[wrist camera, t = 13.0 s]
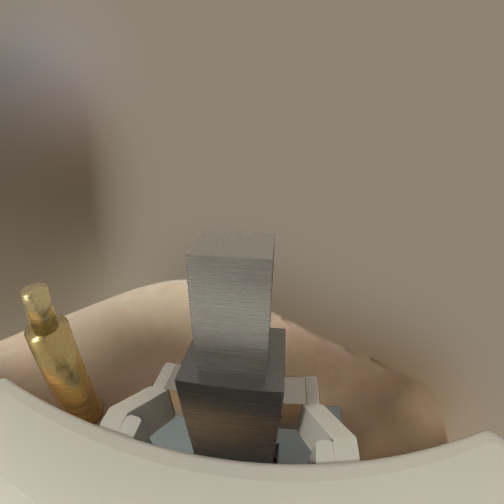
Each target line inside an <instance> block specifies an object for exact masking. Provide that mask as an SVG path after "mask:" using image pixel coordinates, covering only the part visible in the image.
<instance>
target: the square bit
mask: <svg viewBox="0 0 504 504" xmlns="http://www.w3.org/2000/svg"><path fill="white" fill-rule="evenodd" d="M274 247H275V234H262V233H241V232H218V231H217V232H216V231H207V232H206V233H205V234H204V235H203V236H202V237H201V238H200V239H199V240H198V241H197V242H196V243H195V244H194V246H193V247H192V248H191V249H190V250H189V251H188V252H187V253H186V254H185V257H186V271H187V284H188V295H189V305H190V315H191V324H192V333H193V340H192V343H191V345H190V347H189V349H188V351H187V353H186V356H185V358H184V360H183V362H182V364H181V367H180V369H179V371H178V373H177V375H176V378H175V384H176V389H177V393H178V397H179V401H180V405H181V409H182V413H183V416H184V420H185V424H186V427H187V431H188V434H189V438H190V441H191V444H192V447H193V451H194V454H197V455H202V456H208V457H214V458H221V459H228V460H236V461H245V462H256V463H271V464H272V462H273V457H274V451H275V446H276V440H277V434H278V429H279V423H280V416H281V410H282V404H283V397H284V383H285V329H278V328H270V320H271V304H272V285H273V267H274Z"/></svg>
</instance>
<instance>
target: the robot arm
mask: <svg viewBox="0 0 504 504" xmlns="http://www.w3.org/2000/svg"><path fill="white" fill-rule="evenodd" d="M180 367H181V365H180V364H174V363H169V362H167V363H165V364H164V366H163V368H162V370H161V372H160V374H159V375H158V377H157V379H156V381H155V383H154V385H153V386H149V387H147V388H145V389H143V390H141V391H140V392H138V393H136V394H134V395H132V396H130V397H128V398H126V399H125V400H123V401H121V402H119V403H117V404H115V405H113V406H111V407H110V408H109V409H108V411H107V413H106V414H105V416H104V418H103V419H102V421H101V423H100V424H99V426H97V425H94V424H92V423H89V422H87V421H85V420H82V419H80V418H78V417H76V416H73V415H71V414H69V413H67V412H65V411H63V410H61V409H59V408H57V407H55V406H53V405H51V404H49V403H47V402H45V401H43V400H41V399H40V398H38V397H36V396H34V395H33V394H31V393H29V392H27V391H26V390H24V389H22V388H21V387H19V386H18V385H16V384H14V383H13V382H11V381H10V380H8V379H5V378H2V379H0V504H504V438H502V437H501V436H499V435H497V434H496V433H494V432H492V431H490V430H485V431H481V432H479V433H476V434H473V435H470V436H468V437H465V438H462V439H459V440H456V441H453V442H449V443H446V444H443V445H439V446H436V447H432V448H428V449H424V450H420V451H416V452H411V453H406V454H401V455H396V456H391V457H385V458H378V459H371V460H363V461H360V457H359V451H358V444H357V438H356V437H355V436H354V435H353V434H352V433H351V432H350V431H349V430H348V429H347V428H346V427H345V426H344V425H343V424H342V423H341V422H340V421H339V420H338V419H337V418H336V417H335V416H334V415H333V414H332V413H331V412H330V411H329V410H328V409H327V408H326V407H325V406H324V405H320V398H319V388H318V379H317V377H316V376H305V377H304V376H285V383H284V397H283V404H282V410H281V416H280V423H279V429H297V432H298V433H299V435H300V436H301V438H302V439H303V440H304V442H305V443H306V445H307V446H308V447H309V449H310V450H311V452H312V453H311V455H310V458H309V460H308V463H307V464H271V463H256V462H245V461H236V460H228V459H221V458H214V457H208V456H202V455H197V454H191V453H187V452H182V451H177V450H173V449H169V448H165V447H161V446H157V445H153V444H152V442H151V440H150V438H149V437H150V436H151V435H152V434H154V433H155V432H156V431H158V430H159V429H160V428H162V427H163V426H164V425H165V424H167V423H168V422H169V421H170V420H172V419H173V418H174V417H175V416H180V417H184V416H183V413H182V409H181V405H180V401H179V397H178V393H177V389H176V384H175V378H176V375H177V373H178V371H179V369H180Z"/></svg>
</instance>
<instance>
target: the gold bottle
mask: <svg viewBox="0 0 504 504" xmlns="http://www.w3.org/2000/svg"><path fill="white" fill-rule="evenodd" d="M20 295H21V298H22V301H23V304H24V307H25V310H26V313H27V316H28V319H29V322H30V324H29V325H28V326H27V327H26V329H25V332H24V336H25V338H26V341H27V343H28V345H29V348H30V350H31V352H32V354H33V356H34V359H35V361H36V363H37V365H38V367H39V369H40V371H41V373H42V375H43V377H44V379H45V381H46V382H47V384H48V386H49V388H50V390H51V392H52V393H53V395H54V397H55V399H56V400H57V402H58V404H59V405H60V407H61V409H62V410H63V411H65V412H67V413H69V414H71V415H73V416H76V417H78V418H80V419H82V420H85V421H87V422H89V423H92V424H94V423H95V422H97V421H98V420H99V419H100V417H101V416H102V413H103V406H102V403H101V401H100V399H99V397H98V395H97V393H96V391H95V389H94V387H93V384H92V382H91V380H90V378H89V375H88V373H87V371H86V368H85V366H84V363H83V361H82V359H81V356H80V353H79V351H78V348H77V345H76V343H75V340H74V337H73V334H72V331H71V328H70V325H69V322H68V320H67V318H66V317H64V316H62V315H59V314H55V311H54V308H53V304H52V301H51V298H50V294H49V290H48V286H47V284H45V283H34V284H31V285H28V286H26V287H25V288H23V289H22V290H21V292H20Z"/></svg>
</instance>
